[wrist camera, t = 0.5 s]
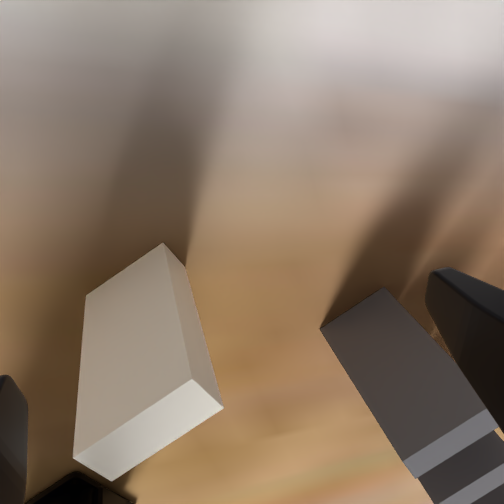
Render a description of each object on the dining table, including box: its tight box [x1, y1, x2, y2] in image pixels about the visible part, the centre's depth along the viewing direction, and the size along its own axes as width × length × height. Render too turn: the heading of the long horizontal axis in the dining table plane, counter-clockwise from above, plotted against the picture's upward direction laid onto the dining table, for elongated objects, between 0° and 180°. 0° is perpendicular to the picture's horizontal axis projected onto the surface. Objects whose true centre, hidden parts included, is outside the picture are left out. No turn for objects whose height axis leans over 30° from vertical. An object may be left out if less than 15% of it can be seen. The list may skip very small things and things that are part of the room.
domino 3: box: [418, 430, 504, 504], centre depth 29 cm, size 2×5×10 cm, turn 121°
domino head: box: [73, 243, 224, 482], centre depth 20 cm, size 2×5×10 cm, turn 121°
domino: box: [320, 287, 499, 479], centre depth 26 cm, size 2×5×10 cm, turn 121°
